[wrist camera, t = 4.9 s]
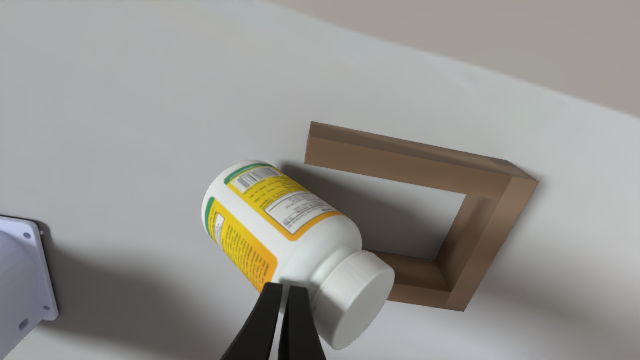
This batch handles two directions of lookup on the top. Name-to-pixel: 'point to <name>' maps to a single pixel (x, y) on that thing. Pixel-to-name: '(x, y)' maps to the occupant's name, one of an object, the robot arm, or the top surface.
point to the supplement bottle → (297, 247)
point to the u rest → (441, 173)
